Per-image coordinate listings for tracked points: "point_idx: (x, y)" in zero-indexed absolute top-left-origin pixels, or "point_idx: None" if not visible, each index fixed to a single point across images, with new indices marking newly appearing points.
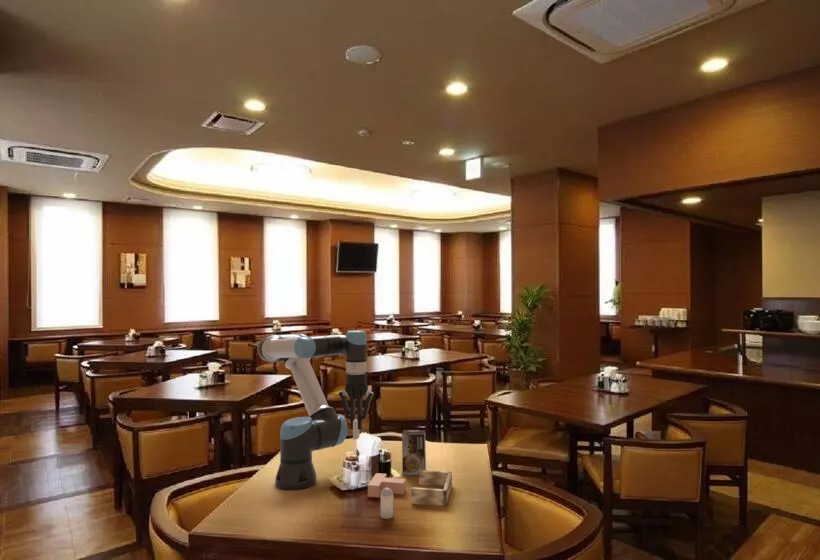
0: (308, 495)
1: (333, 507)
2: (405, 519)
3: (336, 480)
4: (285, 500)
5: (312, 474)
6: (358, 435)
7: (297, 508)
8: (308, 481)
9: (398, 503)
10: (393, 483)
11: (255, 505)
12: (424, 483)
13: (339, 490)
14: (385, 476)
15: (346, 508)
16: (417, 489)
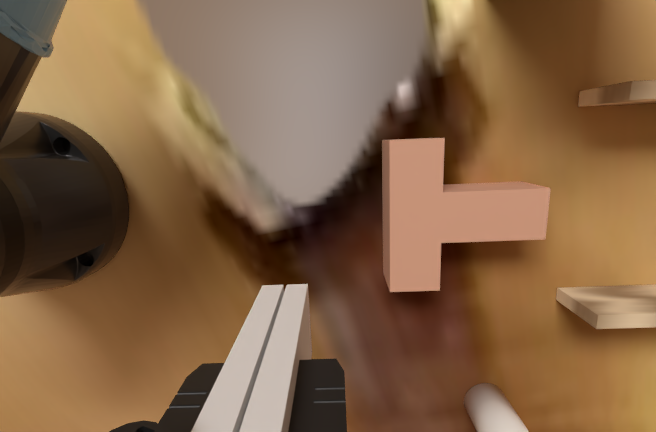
0: (164, 306)
1: None
2: (546, 409)
3: (197, 138)
4: (111, 358)
5: (95, 220)
6: (307, 328)
7: None
8: (108, 246)
9: (508, 306)
10: (495, 240)
11: (43, 407)
12: (607, 104)
13: (255, 240)
14: (442, 164)
15: None
16: (622, 326)
